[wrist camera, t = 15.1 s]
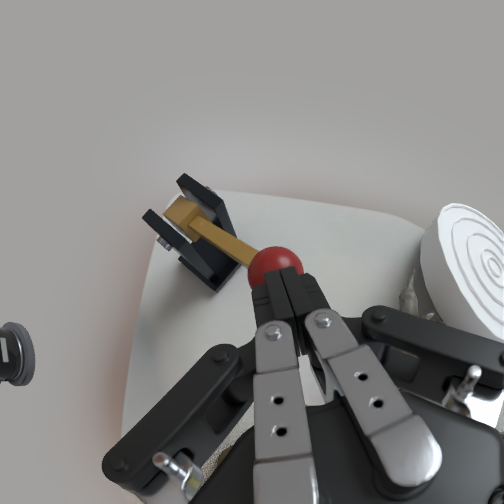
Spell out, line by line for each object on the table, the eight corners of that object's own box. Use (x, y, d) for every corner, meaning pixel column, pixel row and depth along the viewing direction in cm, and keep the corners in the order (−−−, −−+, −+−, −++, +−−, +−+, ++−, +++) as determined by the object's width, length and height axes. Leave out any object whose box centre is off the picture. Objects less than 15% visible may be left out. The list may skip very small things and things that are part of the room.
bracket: (251, 253, 33) (235, 200, 20) (217, 293, 31) (180, 262, 19) (213, 224, 34) (182, 163, 22) (180, 261, 33) (131, 216, 21)
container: (521, 382, 14) (491, 395, 18) (539, 281, 23) (520, 297, 27) (410, 241, 23) (387, 269, 26) (460, 187, 31) (445, 208, 35)
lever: (320, 278, 16) (307, 249, 14) (287, 320, 16) (267, 299, 13) (201, 211, 25) (181, 187, 22) (177, 237, 24) (155, 215, 22)
